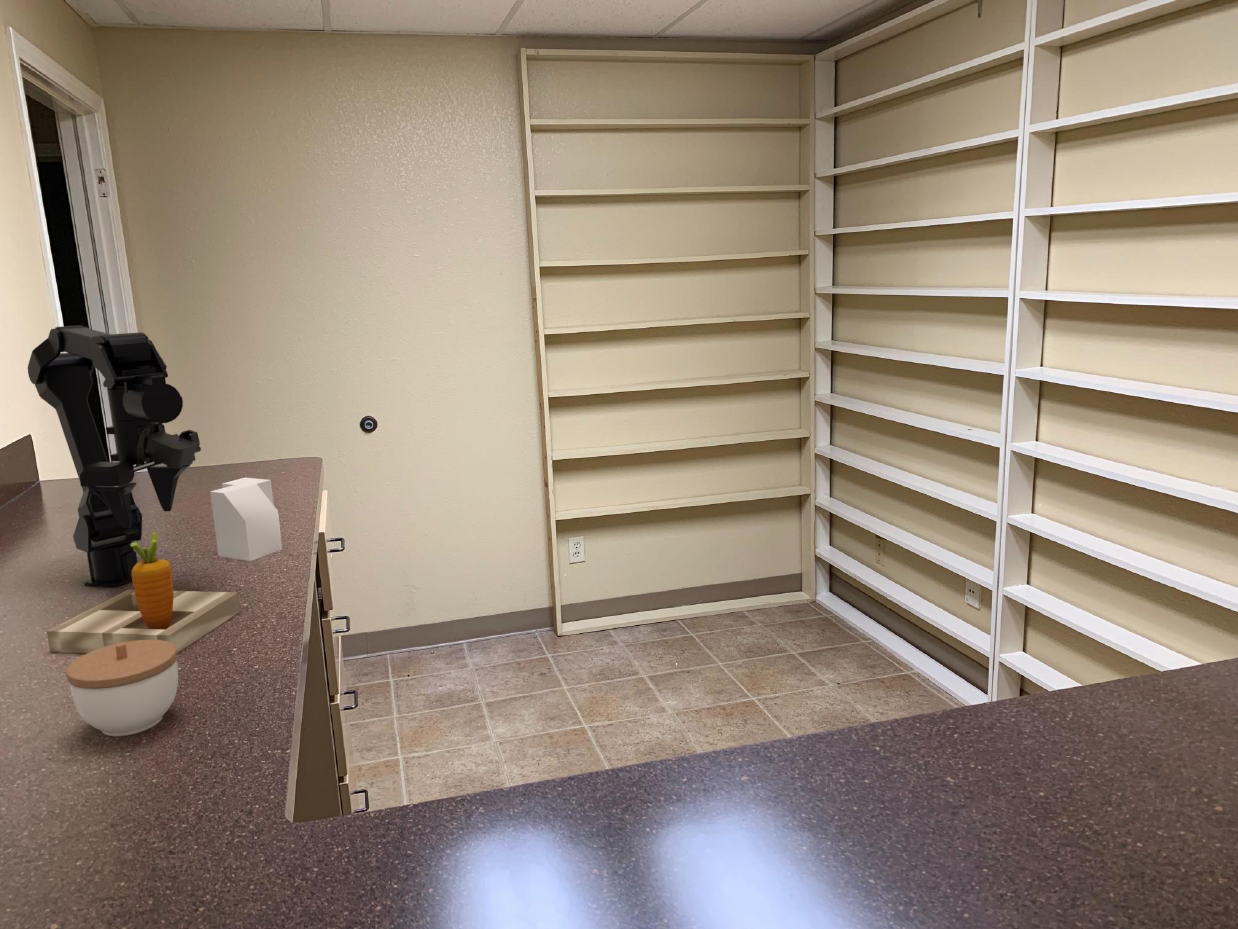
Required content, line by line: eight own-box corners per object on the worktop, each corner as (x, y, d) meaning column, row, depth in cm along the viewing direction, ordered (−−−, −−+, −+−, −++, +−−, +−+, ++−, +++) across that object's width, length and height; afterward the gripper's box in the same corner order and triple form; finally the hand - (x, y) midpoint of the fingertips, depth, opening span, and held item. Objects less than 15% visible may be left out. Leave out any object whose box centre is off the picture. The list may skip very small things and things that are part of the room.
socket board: (50, 652, 120) (46, 631, 119) (130, 608, 136) (128, 589, 135) (172, 656, 117) (168, 635, 117) (240, 611, 133) (237, 592, 132)
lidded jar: (83, 713, 102) (70, 636, 101) (186, 693, 107) (175, 619, 105) (70, 757, 93) (56, 673, 91) (184, 733, 97) (172, 652, 95)
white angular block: (252, 538, 171) (245, 477, 169) (296, 544, 166) (289, 481, 164) (205, 554, 162) (197, 490, 160) (250, 561, 157) (242, 495, 155)
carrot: (147, 650, 120) (131, 543, 116) (136, 640, 123) (120, 536, 120) (186, 639, 123) (171, 534, 120) (174, 629, 126) (160, 528, 123)
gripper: (140, 428, 123) (156, 537, 126) (219, 408, 141) (231, 504, 144) (68, 428, 125) (85, 536, 128) (155, 408, 143) (168, 503, 146)
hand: (148, 519), depth 136 cm, fingers open, 9 cm apart
